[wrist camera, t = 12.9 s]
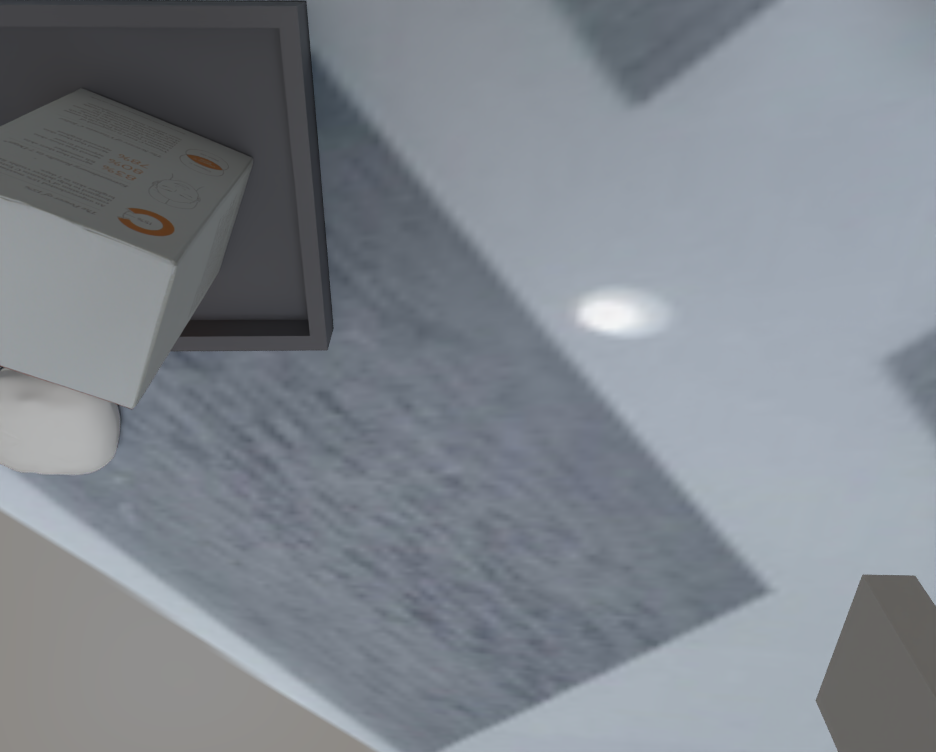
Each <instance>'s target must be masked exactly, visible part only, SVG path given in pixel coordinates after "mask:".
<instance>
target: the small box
mask: <svg viewBox="0 0 936 752" xmlns="http://www.w3.org/2000/svg"><path fill="white" fill-rule="evenodd" d="M252 165H253V158H252V157H250V156H247V155H245V154H243V153H240V152H238V151H235V150H233V149H230V148H228V147H226V146H223V145H221V144H218V143H216V142H214V141H211V140H209V139H206V138H204V137H202V136H199V135H197V134H194V133H192V132H189V131H187V130H184V129H182V128H180V127H177V126H175V125H172V124H170V123H167V122H165V121H162V120H160V119H158V118H155V117H153V116H150V115H148V114H145V113H143V112H140V111H138V110H136V109H133V108H131V107H128V106H126V105H123V104H121V103H118V102H116V101H113V100H111V99H108V98H106V97H103V96H100V95H98V94H96V93H93V92H91V91H88V90H86V89H82V88H80V89H78V90H76V91H75V92H72V93H70V94H68V95H66V96H64V97H61V98H59V99H57V100H55V101H53V102H51V103H49V104H47V105H44V106H42V107H40V108H38V109H36V110H34V111H32V112H29V113H27V114H25V115H23V116H21V117H19V118H17V119H15V120H13V121H10V122H8V123H6V124H4V125H2V126H0V366H1V367H4V368H7V369H10V370H14V371H17V372H20V373H23V374H26V375H29V376H32V377H35V378H38V379H41V380H44V381H47V382H50V383H54V384H57V385H60V386H63V387H66V388H69V389H72V390H75V391H78V392H81V393H84V394H87V395H90V396H93V397H96V398H99V399H102V400H105V401H108V402H112V403H115V404H118V405H121V406H124V407H127V408H129V409H133V408H134V407H135V406H136V405H137V404H138V402H139V401H140V399H141V398H142V396H143V395H144V393H145V391H146V390H147V388H148V386H149V385H150V383H151V382H152V380H153V378H154V377H155V375H156V373H157V372H158V370H159V368H160V367H161V365H162V364H163V362H164V360H165V359H166V357H167V356H168V354H169V352H170V351H171V349H172V347H173V346H174V344H175V343H176V341H177V339H178V338H179V336H180V335H181V333H182V331H183V330H184V328H185V327H186V325H187V323H188V322H189V320H190V319H191V317H192V315H193V314H194V312H195V310H196V309H197V307H198V306H199V304H200V302H201V301H202V299H203V297H204V296H205V294H206V292H207V291H208V289H209V287H210V286H211V284H212V282H213V281H214V279H215V277H216V276H217V274H218V273H219V270H220V267H221V264H222V261H223V257H224V254H225V251H226V248H227V245H228V241H229V238H230V235H231V232H232V229H233V225H234V222H235V219H236V216H237V213H238V210H239V207H240V203H241V200H242V197H243V194H244V191H245V188H246V184H247V181H248V178H249V175H250V172H251V169H252Z"/></svg>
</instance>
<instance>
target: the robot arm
mask: <svg viewBox="0 0 936 752" xmlns="http://www.w3.org/2000/svg"><path fill="white" fill-rule="evenodd" d="M816 702H817V705H818V707H819V709H820V711H821V714H822V716H823V718H824V720H825V723H826V725H827V727H828V730H829V732H830V734H831V736H832V739H833V741H834V743H835V745H836V748H837V750H838V752H936V606H935V605H934V603H933V602H932V600H931V599H930V597H929V596H928V594H927V593H926V591H925V590H924V588H923V587H922V585H921V584H920V582H919V581H918V579H917V578H916V576H906V575H862V577H861V580H860V583H859V585H858V588H857V591H856V594H855V596H854V599H853V602H852V604H851V607H850V610H849V612H848V615H847V618H846V620H845V623H844V626H843V628H842V631H841V634H840V637H839V639H838V642H837V645H836V647H835V650H834V653H833V655H832V658H831V661H830V663H829V666H828V669H827V672H826V674H825V677H824V680H823V682H822V685H821V688H820V690H819V693H818V696H817V698H816Z"/></svg>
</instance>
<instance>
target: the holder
mask: <svg viewBox="0 0 936 752" xmlns="http://www.w3.org/2000/svg"><path fill="white" fill-rule="evenodd" d="M80 88H82V89H86V90H88V91H91V92H93V93H96V94H98V95H100V96H103V97H106V98H108V99H111V100H113V101H116V102H118V103H121V104H123V105H126V106H128V107H131V108H133V109H136V110H138V111H140V112H143V113H145V114H148V115H150V116H153V117H155V118H158V119H160V120H162V121H165V122H167V123H170V124H172V125H175V126H177V127H180V128H182V129H184V130H187V131H189V132H192V133H194V134H197V135H199V136H202V137H204V138H206V139H209V140H211V141H214V142H216V143H218V144H221V145H223V146H226V147H228V148H230V149H233V150H235V151H238V152H240V153H243V154H245V155H247V156H250V157H252V158H253V165H252V169H251V172H250V175H249V178H248V181H247V184H246V188H245V191H244V194H243V197H242V200H241V203H240V207H239V210H238V213H237V216H236V219H235V222H234V225H233V229H232V232H231V235H230V238H229V241H228V245H227V248H226V251H225V254H224V257H223V261H222V264H221V267H220V270H219V273H218V274H217V276H216V277H215V279H214V281H213V282H212V284H211V286H210V287H209V289H208V291H207V292H206V294H205V296H204V297H203V299H202V301H201V302H200V304H199V306H198V307H197V309H196V310H195V312H194V314H193V315H192V317H191V319H190V320H189V322H188V323H187V325H186V327H185V328H184V330H183V331H182V333H181V335H180V336H179V338H178V339H177V341H176V343H175V344H174V346H173V347H172V349H171V351H296V350H328V347H329V343H330V339H331V335H332V332H333V317H332V305H331V293H330V281H329V269H328V257H327V245H326V233H325V221H324V209H323V197H322V185H321V173H320V161H319V149H318V137H317V125H316V113H315V101H314V89H313V77H312V65H311V53H310V41H309V29H308V17H307V5H306V1H178V0H0V126H2V125H4V124H6V123H8V122H10V121H13V120H15V119H17V118H19V117H21V116H23V115H25V114H27V113H29V112H32V111H34V110H36V109H38V108H40V107H42V106H44V105H47V104H49V103H51V102H53V101H55V100H57V99H59V98H61V97H64V96H66V95H68V94H70V93H72V92H75V91H76V90H78V89H80Z"/></svg>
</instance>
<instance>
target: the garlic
mask: <svg viewBox="0 0 936 752" xmlns="http://www.w3.org/2000/svg"><path fill="white" fill-rule="evenodd" d="M119 434H120V414H119V409H118V406H117V404H115V403H112V402H108V401H105V400H102V399H99V398H96V397H93V396H90V395H87V394H84V393H81V392H78V391H75V390H72V389H69V388H66V387H63V386H60V385H57V384H54V383H50V382H47V381H44V380H41V379H38V378H35V377H32V376H29V375H26V374H23V373H20V372H17V371H14V370H10V369H7V368H3V369H2V370H0V464H2V465H4V466H6V467H8V468H10V469H12V470H15V471H18V472H23V473H31V472H34V473H38V474H62V475H81V474H87V473H91V472H94V471H97V470H99V469H101V468H102V467H104V466H105V465H106V464H107V463H109V462H110V461H111V460H112V459H113V457H114V456H115V454H116V450H117V446H118V441H119Z"/></svg>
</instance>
